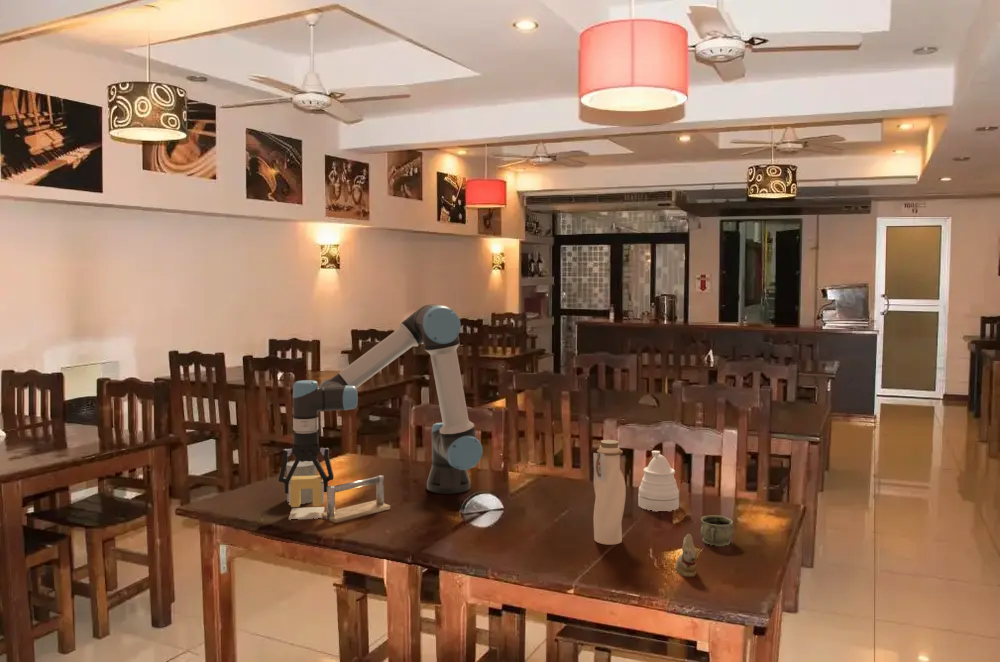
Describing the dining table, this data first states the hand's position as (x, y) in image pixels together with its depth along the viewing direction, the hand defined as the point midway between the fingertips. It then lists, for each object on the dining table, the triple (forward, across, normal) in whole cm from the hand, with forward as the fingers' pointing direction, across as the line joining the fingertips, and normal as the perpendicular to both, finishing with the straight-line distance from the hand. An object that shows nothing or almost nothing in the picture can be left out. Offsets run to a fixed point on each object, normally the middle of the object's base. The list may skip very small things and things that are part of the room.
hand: (306, 503), depth 244 cm
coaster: (+3, 0, 0) cm, 3 cm away
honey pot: (+3, +111, -7) cm, 111 cm away
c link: (0, 0, 0) cm, 0 cm away
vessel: (+3, +115, -42) cm, 123 cm away
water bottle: (+3, +85, -37) cm, 93 cm away
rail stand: (+3, +15, -1) cm, 16 cm away
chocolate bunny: (+4, +98, -62) cm, 116 cm away
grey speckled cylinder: (+4, -3, +16) cm, 17 cm away
